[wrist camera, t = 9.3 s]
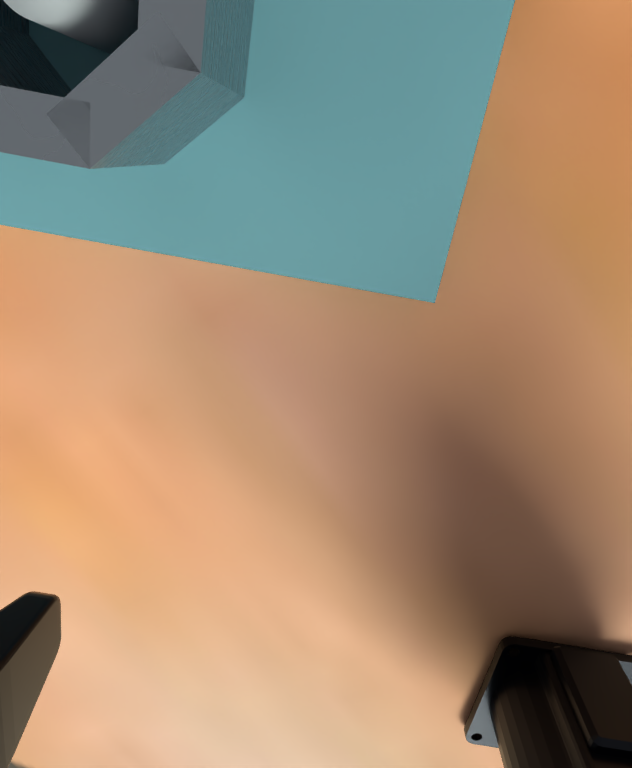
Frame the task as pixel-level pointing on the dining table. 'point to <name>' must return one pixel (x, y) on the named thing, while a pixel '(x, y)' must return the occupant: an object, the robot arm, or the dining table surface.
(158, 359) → the dining table surface
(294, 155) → the shaft base
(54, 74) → the block
